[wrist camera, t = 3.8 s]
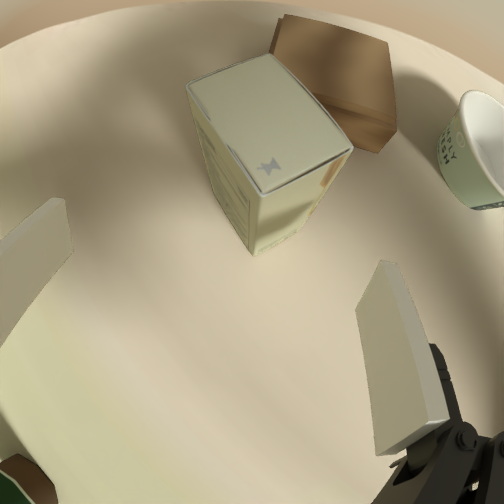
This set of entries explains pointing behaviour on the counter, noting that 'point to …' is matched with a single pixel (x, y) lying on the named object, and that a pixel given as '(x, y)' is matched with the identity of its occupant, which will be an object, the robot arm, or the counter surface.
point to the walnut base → (342, 76)
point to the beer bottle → (24, 483)
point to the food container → (474, 151)
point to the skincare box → (265, 147)
